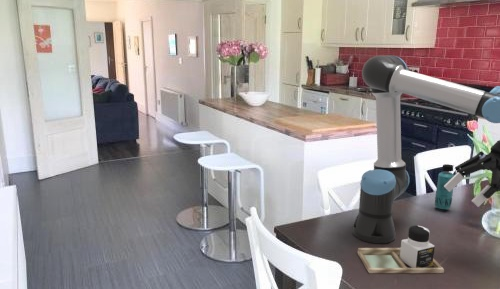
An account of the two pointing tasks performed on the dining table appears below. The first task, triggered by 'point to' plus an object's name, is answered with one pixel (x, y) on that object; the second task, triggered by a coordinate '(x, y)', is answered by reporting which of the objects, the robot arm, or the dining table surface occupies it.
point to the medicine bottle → (417, 248)
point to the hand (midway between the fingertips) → (459, 196)
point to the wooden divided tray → (390, 262)
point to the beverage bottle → (444, 189)
